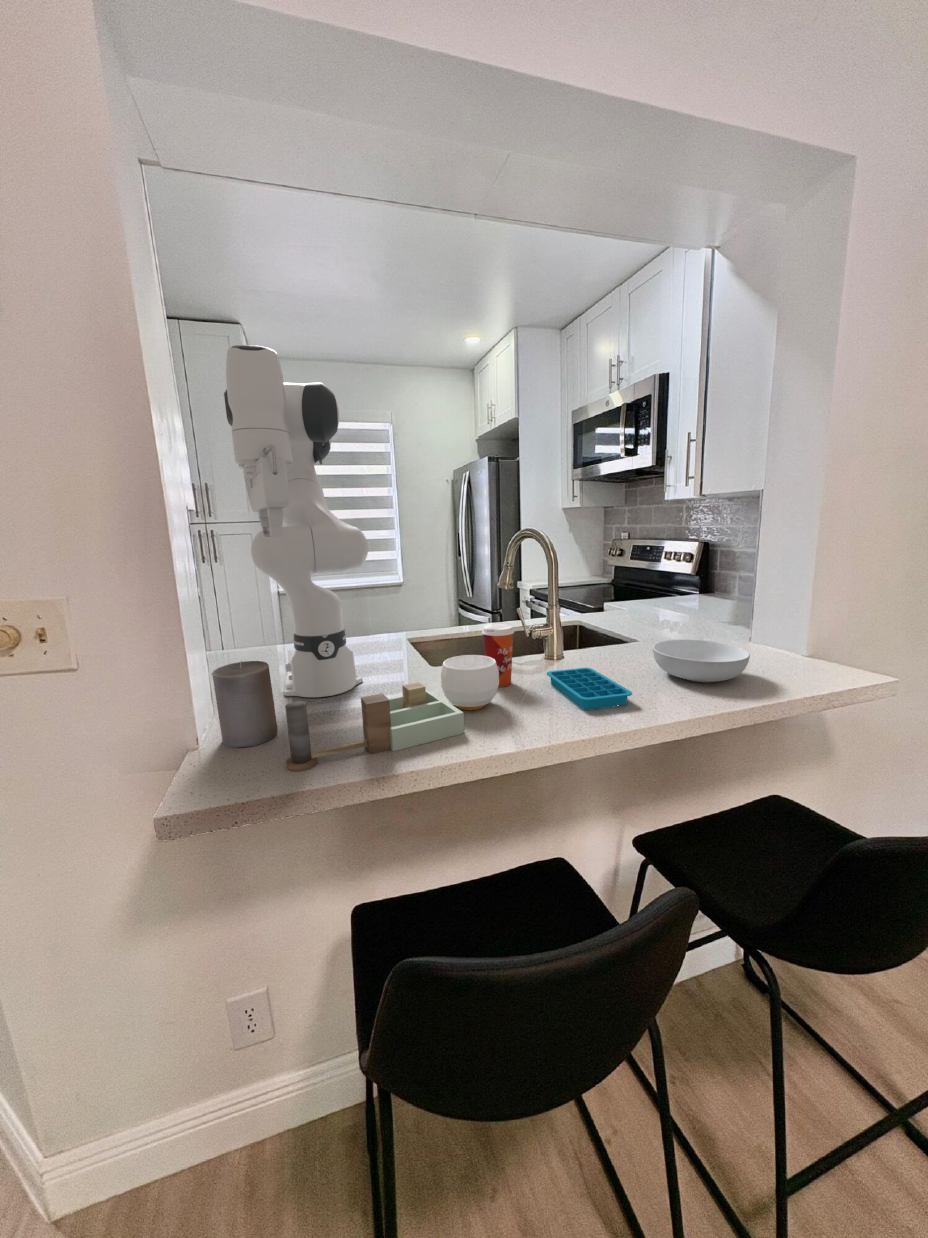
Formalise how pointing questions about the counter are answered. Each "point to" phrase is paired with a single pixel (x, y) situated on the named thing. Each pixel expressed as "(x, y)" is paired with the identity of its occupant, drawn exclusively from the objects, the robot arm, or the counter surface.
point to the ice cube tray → (589, 688)
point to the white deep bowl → (470, 680)
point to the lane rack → (423, 721)
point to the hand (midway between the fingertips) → (272, 537)
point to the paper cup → (500, 649)
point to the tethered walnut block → (374, 741)
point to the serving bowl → (700, 659)
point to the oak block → (413, 694)
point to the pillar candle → (245, 703)
